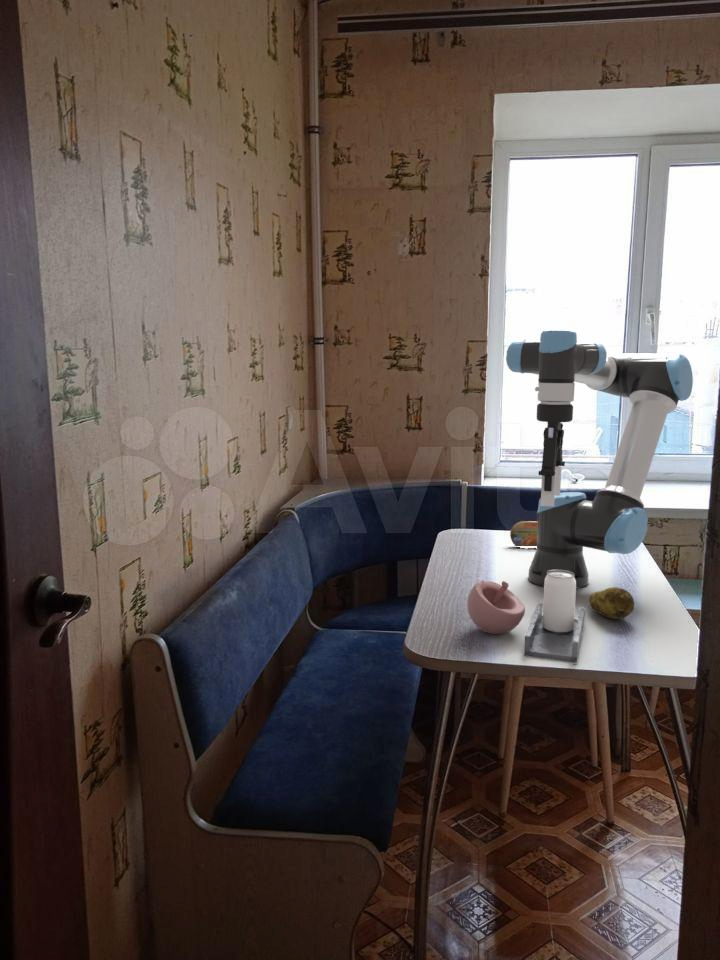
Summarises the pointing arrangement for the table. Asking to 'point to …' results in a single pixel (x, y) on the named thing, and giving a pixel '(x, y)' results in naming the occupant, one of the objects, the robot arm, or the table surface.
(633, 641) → the table surface
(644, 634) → the table surface
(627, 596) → the potato
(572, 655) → the track
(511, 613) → the mortar and pestle
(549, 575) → the can
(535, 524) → the tin
